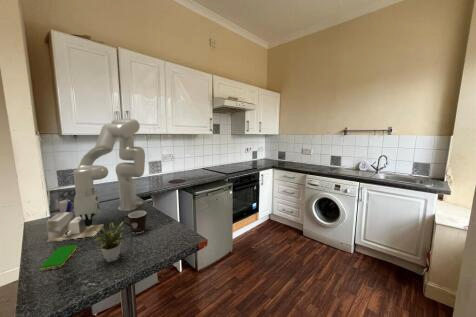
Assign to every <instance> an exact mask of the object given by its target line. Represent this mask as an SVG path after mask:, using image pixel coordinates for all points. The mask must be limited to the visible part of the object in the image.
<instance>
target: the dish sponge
mask: <svg viewBox="0 0 476 317" xmlns="http://www.w3.org/2000/svg"><path fill="white" fill-rule="evenodd" d="M77 247H79V246H78V244H71V245H65V246H64V245H63V246H59V247H57V248H56V250H54V252H52V253H51V255H49V257H48V258H47V259H46V260H45V261H44V262H43V263H42V264H41V265H40V267H39V270H40V269H44V268H50V267H55V266H61V265H63V264H64V263H65V261H66V260H67V259H68V258H69V257H70V256H71V254H72V253H73V252H74V251H75V250H76V248H77ZM76 251H77V250H76Z"/></svg>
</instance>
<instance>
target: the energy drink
mask: <svg viewBox="0 0 476 317" xmlns="http://www.w3.org/2000/svg"><path fill="white" fill-rule="evenodd" d="M58 207H59V213H65V212H70V219H71V221H72V220H73V219H74V214H73V207H72V200H71V199H63V200H59V202H58Z"/></svg>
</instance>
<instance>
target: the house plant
mask: <svg viewBox="0 0 476 317" xmlns="http://www.w3.org/2000/svg"><path fill="white" fill-rule="evenodd" d="M124 221H125V220H124ZM124 221H123V220H122V222H121V223H120V224H119V225H118V226H116V225H114V222H112V221H111V222H110V224H109V226H108V227H109V229H108V231H106V229H105V228H104V226H101V224H99V225H100V226H101V227H100V226H99V228H101V230H100V231H97V230H95V229H93V230H95V231H97V232H98V234H99V235H98V234H96V236H97V237H94V236H93V237H92V238H94V242H102V243H101V244H100V245H101V248H100V249H101V253H102V254H103V258H104V259H105V258H106V259H110V258H114V257H116V256H118V255H119V254H121V246H122V242H124V238H123V236H122V234H123V231H120V232H119V230H123V229H124V228H125V227H122V225H123V224H125V223H124ZM115 227H116V229H114V228H115ZM101 231H102V232H103V233H102V232H101ZM100 235H101V236H102V237H101V236H100ZM98 245H99V243H96V246H98Z"/></svg>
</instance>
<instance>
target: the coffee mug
mask: <svg viewBox="0 0 476 317" xmlns="http://www.w3.org/2000/svg"><path fill="white" fill-rule="evenodd" d="M125 218H127V219H128V220H129V223H127V222H126V220H125ZM121 220H122V222H123V221H124V223H123V224H125V225H126V226H129V227H130V231H131V233H132V232H135V233H136V232H141V231H143V230H145V231H146V226H147V224H146V223H147V211H145V210H136V211H131V213H128V215H125V216H123V217H122V219H121Z"/></svg>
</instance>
